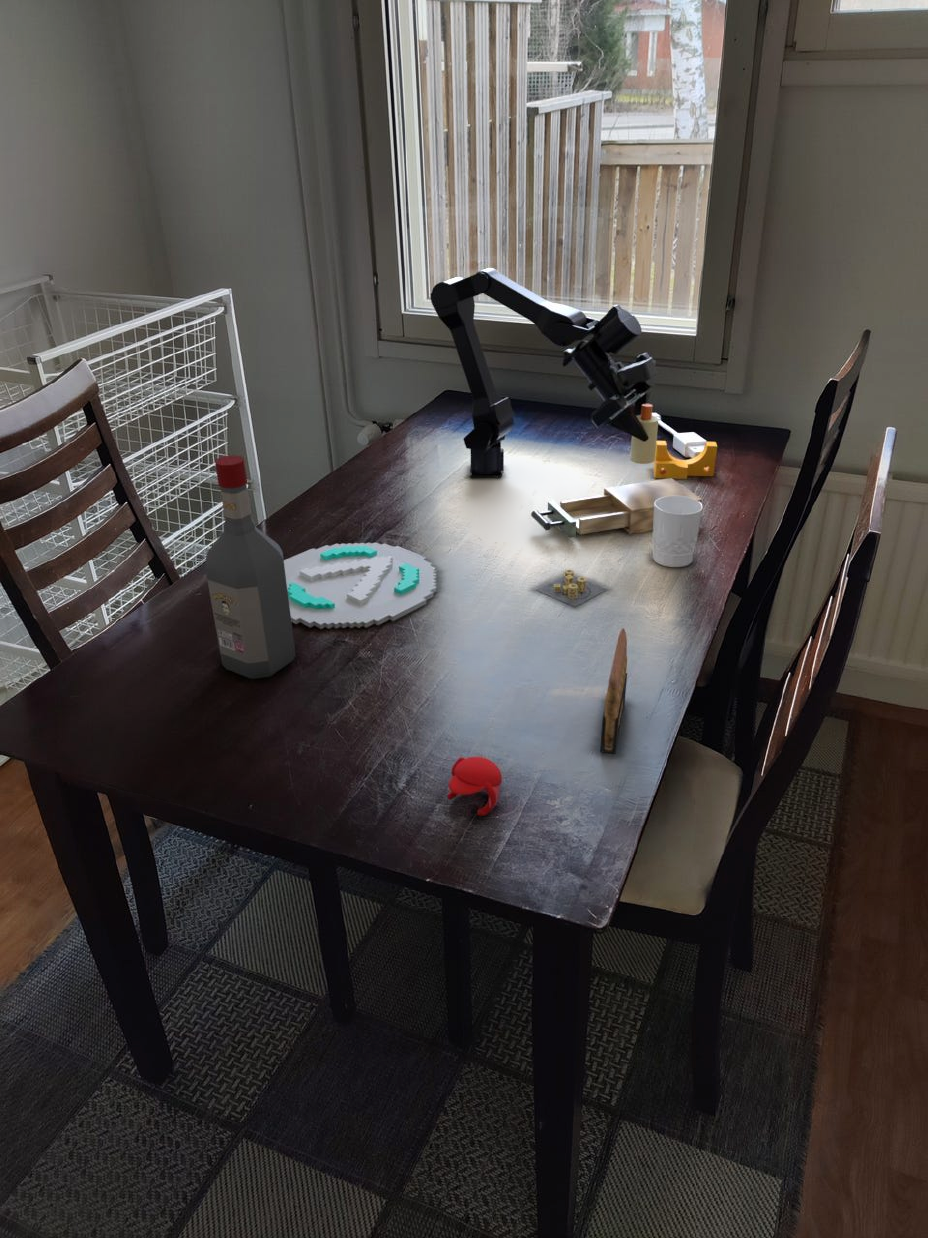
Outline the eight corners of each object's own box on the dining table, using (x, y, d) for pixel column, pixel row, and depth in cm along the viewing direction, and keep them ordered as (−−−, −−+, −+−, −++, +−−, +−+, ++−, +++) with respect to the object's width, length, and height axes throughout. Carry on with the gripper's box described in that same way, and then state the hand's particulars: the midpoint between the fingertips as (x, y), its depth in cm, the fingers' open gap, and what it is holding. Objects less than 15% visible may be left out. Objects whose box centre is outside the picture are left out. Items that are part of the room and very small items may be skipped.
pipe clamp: (654, 477, 189) (657, 447, 186) (653, 470, 193) (656, 440, 190) (714, 479, 188) (718, 449, 185) (711, 471, 192) (715, 441, 188)
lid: (471, 580, 151) (471, 571, 150) (340, 648, 134) (339, 638, 133) (358, 533, 168) (357, 525, 167) (229, 587, 150) (227, 579, 149)
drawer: (548, 542, 162) (548, 525, 160) (526, 520, 170) (527, 504, 168) (636, 527, 166) (638, 511, 165) (611, 507, 174) (613, 491, 173)
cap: (457, 777, 108) (456, 736, 105) (507, 785, 107) (507, 744, 104) (438, 823, 102) (437, 781, 99) (491, 832, 100) (491, 789, 97)
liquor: (261, 685, 126) (230, 478, 111) (213, 666, 130) (176, 464, 115) (305, 654, 132) (281, 455, 117) (258, 637, 137) (229, 443, 122)
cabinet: (630, 534, 166) (632, 510, 163) (602, 510, 175) (604, 487, 173) (699, 522, 170) (702, 499, 167) (668, 500, 179) (671, 477, 176)
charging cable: (658, 420, 224) (659, 407, 222) (714, 461, 195) (716, 446, 194) (638, 422, 223) (639, 408, 221) (692, 463, 195) (693, 448, 193)
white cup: (700, 553, 159) (707, 499, 154) (690, 572, 152) (696, 517, 147) (655, 545, 161) (660, 492, 156) (643, 564, 155) (648, 509, 150)
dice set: (568, 578, 151) (568, 568, 150) (592, 589, 148) (593, 578, 147) (548, 589, 148) (548, 578, 147) (572, 600, 145) (573, 589, 144)
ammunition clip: (610, 702, 121) (616, 623, 115) (624, 704, 121) (631, 625, 114) (600, 752, 112) (606, 669, 106) (615, 754, 112) (622, 671, 106)
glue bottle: (638, 465, 171) (643, 410, 166) (625, 457, 175) (629, 403, 170) (659, 461, 173) (665, 406, 168) (645, 453, 177) (650, 400, 171)
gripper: (612, 353, 158) (667, 425, 159) (649, 330, 172) (700, 397, 173) (567, 392, 165) (621, 461, 166) (607, 367, 179) (656, 431, 180)
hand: (651, 436), depth 171 cm, fingers closed on glue bottle, 4 cm apart
